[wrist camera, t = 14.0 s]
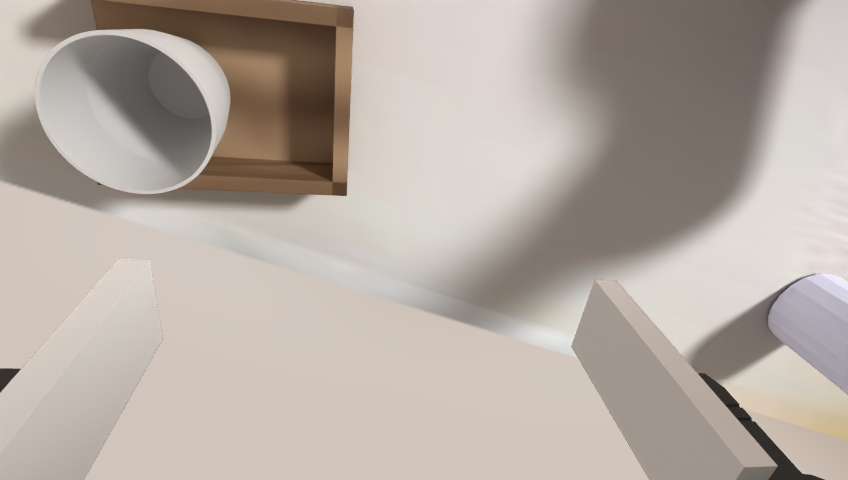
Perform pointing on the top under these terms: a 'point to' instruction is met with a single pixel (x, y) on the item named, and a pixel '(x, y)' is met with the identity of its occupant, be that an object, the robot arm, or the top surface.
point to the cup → (133, 107)
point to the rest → (265, 86)
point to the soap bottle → (815, 324)
